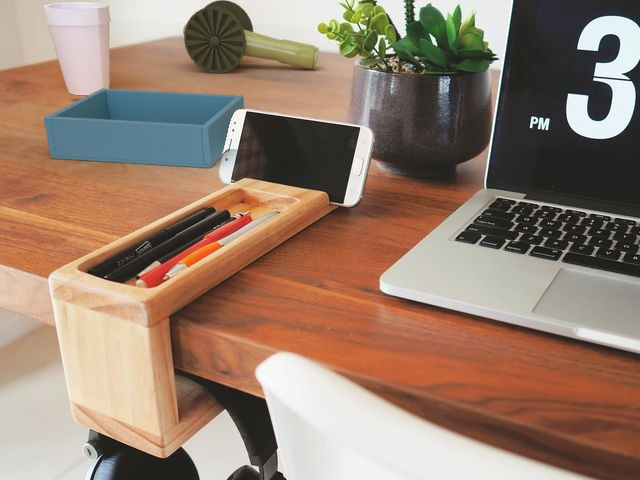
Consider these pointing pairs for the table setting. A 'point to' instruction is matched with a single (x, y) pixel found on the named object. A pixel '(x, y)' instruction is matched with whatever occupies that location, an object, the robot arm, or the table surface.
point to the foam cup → (81, 44)
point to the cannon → (237, 40)
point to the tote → (143, 127)
